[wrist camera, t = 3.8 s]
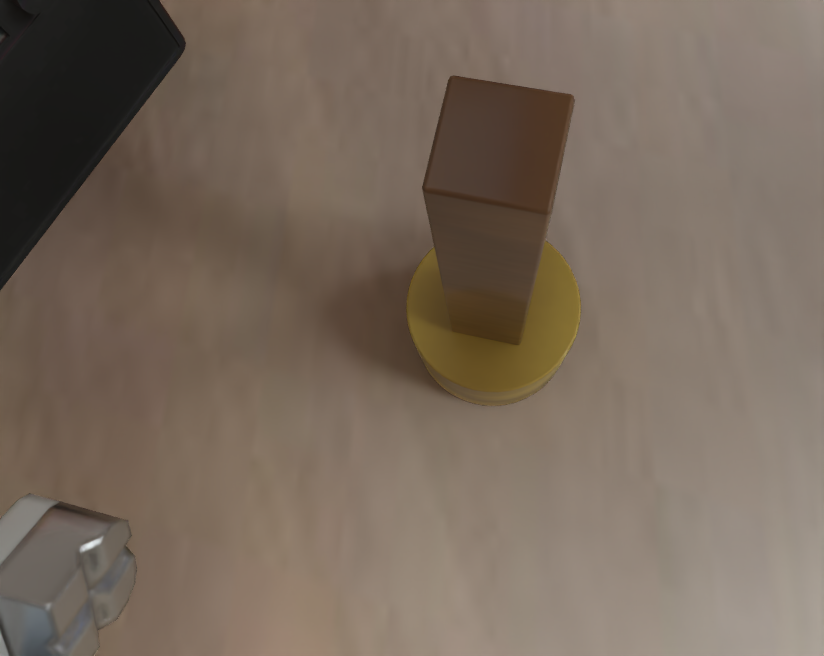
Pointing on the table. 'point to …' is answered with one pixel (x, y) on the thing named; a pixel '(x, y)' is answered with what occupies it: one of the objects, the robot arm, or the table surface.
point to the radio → (69, 100)
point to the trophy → (494, 245)
